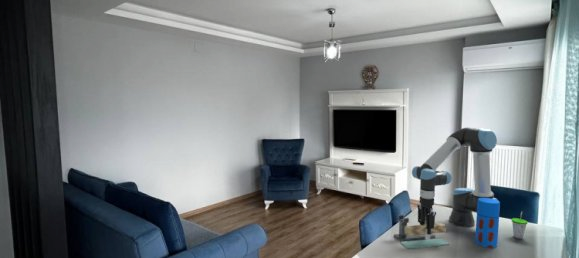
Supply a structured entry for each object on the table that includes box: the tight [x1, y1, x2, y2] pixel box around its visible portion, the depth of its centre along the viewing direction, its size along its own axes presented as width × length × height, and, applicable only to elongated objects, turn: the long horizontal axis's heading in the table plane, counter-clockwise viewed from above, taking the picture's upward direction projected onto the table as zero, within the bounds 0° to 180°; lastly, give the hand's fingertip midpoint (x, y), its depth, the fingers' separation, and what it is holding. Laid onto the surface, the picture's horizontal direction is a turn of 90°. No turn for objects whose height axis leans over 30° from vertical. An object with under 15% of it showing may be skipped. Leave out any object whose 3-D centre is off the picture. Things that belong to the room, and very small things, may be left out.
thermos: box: [475, 198, 501, 248], centre depth 181 cm, size 11×11×25 cm
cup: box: [511, 211, 528, 240], centre depth 190 cm, size 8×8×15 cm
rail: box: [404, 222, 447, 236], centre depth 179 cm, size 24×4×4 cm, turn 103°
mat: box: [400, 237, 450, 250], centre depth 180 cm, size 26×7×1 cm, turn 103°
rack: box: [393, 214, 436, 242], centre depth 189 cm, size 23×7×13 cm, turn 103°
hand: (425, 237), depth 180 cm, fingers closed on rail, 3 cm apart
